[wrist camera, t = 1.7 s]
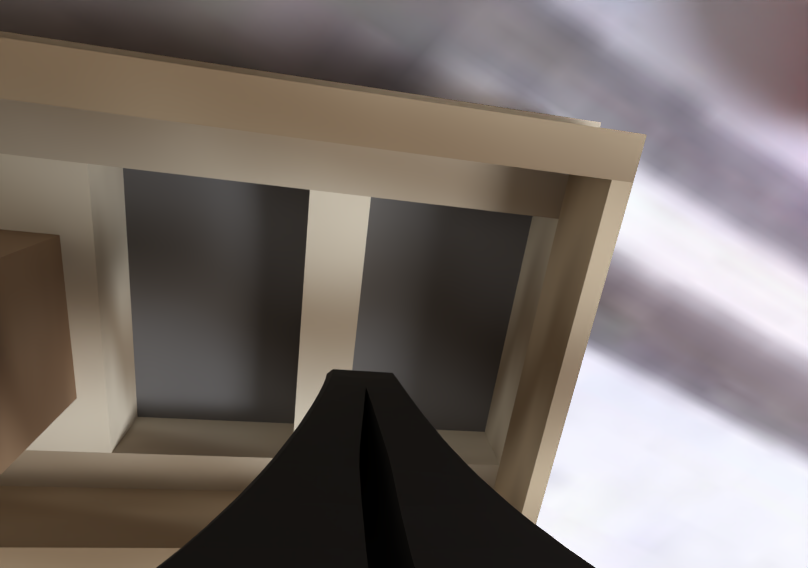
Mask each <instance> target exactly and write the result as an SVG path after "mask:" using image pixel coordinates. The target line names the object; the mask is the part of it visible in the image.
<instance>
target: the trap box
mask: <svg viewBox="0 0 808 568" xmlns="http://www.w3.org/2000/svg"><path fill="white" fill-rule="evenodd" d="M600 125H601V122H594V121H587V120H581V119H574V118H568V117H561V116H555V115H548V114H542V113H535V112H528V111H522V110H515V109H509V108H502V107H496V106H489V105H483V104H476V103H469V102H463V101H456V100H450V99H443V98H437V97H430V96H424V95H417V94H410V93H404V92H397V91H391V90H384V89H378V88H371V87H365V86H358V85H351V84H345V83H338V82H332V81H325V80H319V79H312V78H305V77H299V76H292V75H286V74H279V73H273V72H266V71H260V70H253V69H246V68H240V67H233V66H227V65H220V64H214V63H207V62H201V61H194V60H187V59H181V58H174V57H168V56H161V55H155V54H148V53H142V52H135V51H128V50H122V49H115V48H109V47H102V46H96V45H89V44H83V43H76V42H69V41H63V40H56V39H50V38H43V37H37V36H30V35H24V34H17V33H10V32H4V31H0V229H3V230H13V231H24V232H34V233H45V234H55V235H60V243H61V253H62V262H63V272H64V281H65V291H66V300H67V309H68V319H69V328H70V338H71V347H72V357H73V366H74V375H75V385H76V394H77V399H76V400H75V401H74V402H73V403H72V404H71V405H70V406H69V407H68V408H67V409H66V410H65V411H64V412H63V413H62V414H61V415H60V416H59V417H58V418H57V419H56V420H55V421H54V422H53V423H52V424H51V425H50V426H49V427H48V428H47V429H46V430H45V431H44V432H43V433H42V434H41V435H40V436H39V437H38V438H37V439H36V440H35V441H34V442H33V443H32V444H31V445H30V446H29V447H28V448H27V449H26V450H25V451H24V452H23V453H22V454H21V455H20V456H19V457H18V458H17V459H16V460H15V461H14V462H13V463H12V464H11V465H10V466H9V467H8V468H7V469H6V470H5V471H4V472H3V473H2V474H1V475H0V568H156V567H158V566H159V565H160V564H161V563H163V562H164V561H165V560H166V559H168V558H169V557H170V556H172V555H173V554H174V553H175V552H177V551H178V550H179V549H180V548H182V547H183V546H184V545H185V544H186V543H187V542H189V541H190V540H191V539H192V538H193V537H194V536H196V535H197V534H198V533H199V532H200V531H201V530H202V529H204V528H205V527H206V526H207V525H208V524H209V523H210V522H211V521H212V520H213V519H214V518H215V517H216V516H218V515H219V514H220V513H221V512H222V511H223V510H224V509H225V508H226V507H227V506H228V505H229V504H230V503H231V502H232V501H234V500H235V499H236V498H237V497H238V496H239V495H240V494H241V493H242V491H243V490H244V489H245V488H246V487H247V486H248V485H249V484H250V483H251V482H252V481H253V480H254V479H255V478H256V477H257V476H258V475H259V474H260V472H261V471H262V470H263V469H264V468H265V467H266V466H267V465H268V463H269V462H270V461H271V460H272V459H273V458H274V456H275V455H276V454H277V453H278V451H279V450H280V449H281V447H282V446H283V445H284V444H285V442H286V441H287V440H288V439H289V437H290V436H291V435H292V433H293V432H294V431H295V429H296V428H297V427H298V425H299V424H300V422H301V421H302V419H303V418H304V416H305V415H306V413H307V412H308V410H309V409H310V407H311V406H312V404H313V402H314V401H315V399H316V397H317V395H318V394H319V392H320V390H321V388H322V386H323V383H324V381H325V378H326V374H327V373H328V372H330V371H331V370H332V369H340V370H356V371H372V372H389V373H393V374H394V375H395V376H396V377H397V379H398V380H399V382H400V383H401V384H402V386H403V387H404V389H405V390H406V391H407V393H408V394H409V396H410V397H411V398H412V400H413V401H414V402H415V404H416V405H417V406H418V408H419V409H420V410H421V412H422V413H423V414H424V416H425V417H426V418H427V419H428V421H429V422H430V423H431V424H432V426H433V427H434V428H435V429H436V430H437V432H438V433H439V434H440V435H441V437H442V438H443V439H444V440H445V441H446V442H447V443H448V445H449V446H450V447H451V448H452V449H453V450H454V451H455V452H456V453H457V454H458V455H459V456H460V457H461V458H462V460H463V461H464V462H465V463H466V464H467V465H468V466H469V467H470V468H471V469H472V470H473V471H474V472H475V473H476V474H477V475H478V476H479V477H480V478H482V479H483V480H484V481H485V482H486V483H487V484H488V485H489V486H490V487H492V488H493V489H494V490H495V491H496V492H497V493H498V494H499V495H501V496H502V497H503V498H504V499H505V500H506V501H507V502H508V503H510V504H511V505H512V506H513V507H514V508H516V509H517V510H518V511H519V512H520V513H522V514H523V515H524V516H525V517H527V518H528V519H529V520H530V521H532V522H533V523H534V524H536V522H537V518H538V515H539V511H540V508H541V504H542V501H543V497H544V494H545V490H546V487H547V483H548V479H549V476H550V472H551V469H552V465H553V462H554V458H555V455H556V451H557V448H558V444H559V441H560V437H561V434H562V430H563V427H564V423H565V420H566V416H567V413H568V409H569V406H570V402H571V399H572V395H573V392H574V388H575V385H576V381H577V378H578V374H579V371H580V367H581V364H582V360H583V357H584V353H585V350H586V346H587V343H588V339H589V336H590V332H591V329H592V325H593V322H594V318H595V314H596V311H597V307H598V304H599V300H600V297H601V293H602V290H603V286H604V283H605V279H606V276H607V272H608V269H609V265H610V262H611V258H612V255H613V251H614V248H615V244H616V241H617V237H618V234H619V230H620V227H621V223H622V220H623V216H624V213H625V209H626V206H627V202H628V199H629V195H630V192H631V188H632V185H633V181H634V178H635V174H636V171H637V167H638V164H639V160H640V157H641V153H642V150H643V146H644V142H645V139H646V135H645V134H638V133H632V132H625V131H619V130H612V129H605V128H600Z"/></svg>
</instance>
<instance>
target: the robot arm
mask: <svg viewBox="0 0 808 568" xmlns="http://www.w3.org/2000/svg"><path fill="white" fill-rule="evenodd" d="M156 568H595V567H594V566H592V565H591V564H589V563H588V562H586V561H585V560H583V559H582V558H581V557H579V556H578V555H576V554H575V553H573V552H572V551H570V550H569V549H568V548H566V547H565V546H563V545H562V544H561V543H559V542H558V541H557V540H555V539H554V538H553V537H552V536H550V535H549V534H548V533H546V532H545V531H544V530H542V529H541V528H540V527H538V526H537V525H536V524H534V523H533V522H532V521H530V520H529V519H528V518H527V517H525V516H524V515H523V514H522V513H520V512H519V511H518V510H517V509H516V508H514V507H513V506H512V505H511V504H510V503H508V502H507V501H506V500H505V499H504V498H503V497H502V496H501V495H499V494H498V493H497V492H496V491H495V490H494V489H493V488H492V487H490V486H489V485H488V484H487V483H486V482H485V481H484V480H483V479H482V478H480V477H479V476H478V475H477V474H476V473H475V472H474V471H473V470H472V469H471V468H470V467H469V466H468V465H467V464H466V463H465V462H464V461H463V460H462V458H461V457H460V456H459V455H458V454H457V453H456V452H455V451H454V450H453V449H452V448H451V447H450V446H449V445H448V443H447V442H446V441H445V440H444V439H443V438H442V437H441V435H440V434H439V433H438V432H437V430H436V429H435V428H434V427H433V426H432V424H431V423H430V422H429V421H428V419H427V418H426V417H425V416H424V414H423V413H422V412H421V410H420V409H419V408H418V406H417V405H416V404H415V402H414V401H413V400H412V398H411V397H410V396H409V394H408V393H407V391H406V390H405V389H404V387H403V386H402V384H401V383H400V382H399V380H398V379H397V377H396V376H395V375H394V374H393V373H389V372H372V371H356V370H340V369H332V370H331V371H330V372H328V373H327V374H326V378H325V381H324V383H323V386H322V388H321V390H320V392H319V394H318V395H317V397H316V399H315V401H314V402H313V404H312V406H311V407H310V409H309V410H308V412H307V413H306V415H305V416H304V418H303V419H302V421H301V422H300V424H299V425H298V427H297V428H296V429H295V431H294V432H293V433H292V435H291V436H290V437H289V439H288V440H287V441H286V442H285V444H284V445H283V446H282V447H281V449H280V450H279V451H278V453H277V454H276V455H275V456H274V458H273V459H272V460H271V461H270V462H269V463H268V465H267V466H266V467H265V468H264V469H263V470H262V471H261V472H260V474H259V475H258V476H257V477H256V478H255V479H254V480H253V481H252V482H251V483H250V484H249V485H248V486H247V487H246V488H245V489H244V490H243V491H242V493H241V494H240V495H239V496H238V497H237V498H236V499H235V500H234V501H232V502H231V503H230V504H229V505H228V506H227V507H226V508H225V509H224V510H223V511H222V512H221V513H220V514H219V515H218V516H216V517H215V518H214V519H213V520H212V521H211V522H210V523H209V524H208V525H207V526H206V527H205V528H204V529H202V530H201V531H200V532H199V533H198V534H197V535H196V536H194V537H193V538H192V539H191V540H190V541H189V542H187V543H186V544H185V545H184V546H183V547H182V548H180V549H179V550H178V551H177V552H175V553H174V554H173V555H172V556H170V557H169V558H168V559H166V560H165V561H164V562H163V563H161V564H160V565H159V566H158V567H156Z"/></svg>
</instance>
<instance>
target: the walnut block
mask: <svg viewBox="0 0 808 568" xmlns="http://www.w3.org/2000/svg"><path fill="white" fill-rule="evenodd" d="M76 399H77V394H76V385H75V375H74V366H73V357H72V347H71V338H70V328H69V319H68V309H67V300H66V291H65V281H64V272H63V262H62V253H61V243H60V235H55V234H45V233H34V232H24V231H13V230H3V229H0V475H1V474H2V473H3V472H4V471H5V470H6V469H7V468H8V467H9V466H10V465H11V464H12V463H13V462H14V461H15V460H16V459H17V458H18V457H19V456H20V455H21V454H22V453H23V452H24V451H25V450H26V449H27V448H28V447H29V446H30V445H31V444H32V443H33V442H34V441H35V440H36V439H37V438H38V437H39V436H40V435H41V434H42V433H43V432H44V431H45V430H46V429H47V428H48V427H49V426H50V425H51V424H52V423H53V422H54V421H55V420H56V419H57V418H58V417H59V416H60V415H61V414H62V413H63V412H64V411H65V410H66V409H67V408H68V407H69V406H70V405H71V404H72V403H73V402H74V401H75V400H76Z"/></svg>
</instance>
